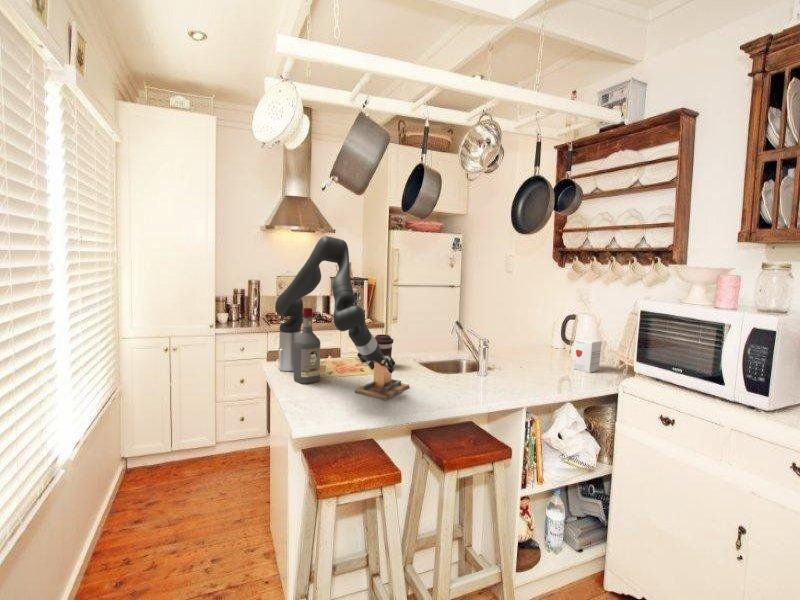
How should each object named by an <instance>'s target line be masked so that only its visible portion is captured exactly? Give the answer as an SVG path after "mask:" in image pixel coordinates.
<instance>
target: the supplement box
mask: <svg viewBox="0 0 800 600" xmlns="http://www.w3.org/2000/svg"><path fill="white" fill-rule="evenodd" d="M574 343H575V344H574V354H573V355H574V356H573V367H572V369H574V370H578V371H582V372H585V373H588V374H591V373H594V372H598V371H599V370H600V364H601V363H600V362H601V352H602V351H601V350H602V343H603V342H602V340H599V339H596V338H595V339H594V338H589V337H582V338H576V339H575V342H574Z"/></svg>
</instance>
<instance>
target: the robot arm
mask: <svg viewBox="0 0 800 600" xmlns="http://www.w3.org/2000/svg"><path fill="white" fill-rule="evenodd" d="M349 255H350V254H349V245H348V244H347V241H346V240H344V239H341V238H338V237H337V238H336V237H332V236H328V235H327V236H326V235H324V236H321V237H320V238H319V239H318V241H317V243H316V245H315V246H314V248H313V249H312V252H311V253H310V255H309V257H308V259H307V260H306V262H305V263H304V265H303V266H302V267H301V268H300V270H299V271H298V273H297V274H296V276H295V277H294V278H293V280H292V281H291V282H290V284H289V285H288V286H287V287H286V288H285V290H284V291H283V292H282V293H280V294H279V296H278V297H277V299H276V300H275V305H274V309H275V312H276V314H277V315H278V316H281V317H289V318H288V319H287V320H286V321H285V322H284V321H283V322H282V323H281V324H280V325H279V333H278V335H279V336H278V337H279V340H278V341H279V342H278V344H279V345H278V346H279V347H278V370H279V371H280V372H281V371H282V372H294V342H295V340H296V339H297V337H298V336H299V335H300V334H301V333H302V327H303V326H302V325H303V308H304V303H303V298H304V297H305V296H307V295H309V294H311V293H312V292H313V291H315V289H317V287H318V286H319V284H320V283H321V281H322V271H321V268H320V265H321V263H323V262H328V263H329V262H330V263H335V264H337V267H338V271H337V272H336V274H335V276H334V278H333V281H332V285H331V289H332V294H333V298H334V311H333V324H334V327H335V328H336V329H337V330H338V331H340V332H346V331H348V337H349V338H350V340H351V342H352V343H353V345H354V346H355V348H356V350H357V351H358V353H357V354H356V356H357V357H358V360H359V361H360V363H362V364H364V363H365V365H367V366H368V368H370V370H372V371H374V363H378V364H379V365H381V366H385V367H386V368H387V369H388V371H389V372H390V373H392V374H393V373H394V371H395V368H394V367H395V365H396V361H395V360H394V358H393V357H392V355H391V356H390V355H387V356H384V355H383V354H382V353H381V348H380V346H379V344H378V343H377V341H376V339H375V336H374V335H373V334H372V333H371V331H370V330H369V328H368V326H367V323H366V316H365V312H364V310H363V308H362V307H361V306H360V305H355V304H354V303H355V302H356V297H355V294H354V289H353V284H352V280H351V270H350V256H349ZM383 359H384V362H383V364H382V363H381V362H382V361H383ZM386 362H387V364H388V365H386Z"/></svg>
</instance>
